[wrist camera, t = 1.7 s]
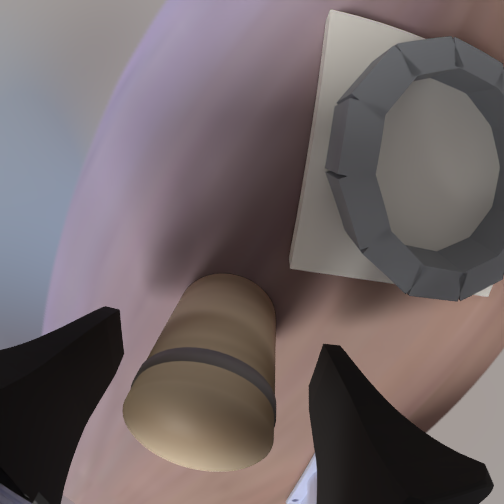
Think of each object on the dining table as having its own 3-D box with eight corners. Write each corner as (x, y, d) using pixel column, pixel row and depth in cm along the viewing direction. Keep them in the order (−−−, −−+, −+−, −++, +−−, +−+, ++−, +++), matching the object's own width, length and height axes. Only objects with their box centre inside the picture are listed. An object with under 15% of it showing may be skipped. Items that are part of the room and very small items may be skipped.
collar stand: (477, 287, 11) (512, 319, 9) (288, 258, 11) (293, 296, 9) (515, 96, 8) (560, 94, 5) (325, 19, 8) (342, -17, 6)
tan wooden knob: (267, 363, 13) (261, 479, 8) (176, 347, 13) (131, 453, 8) (285, 281, 12) (292, 397, 6) (179, 264, 12) (111, 361, 6)
